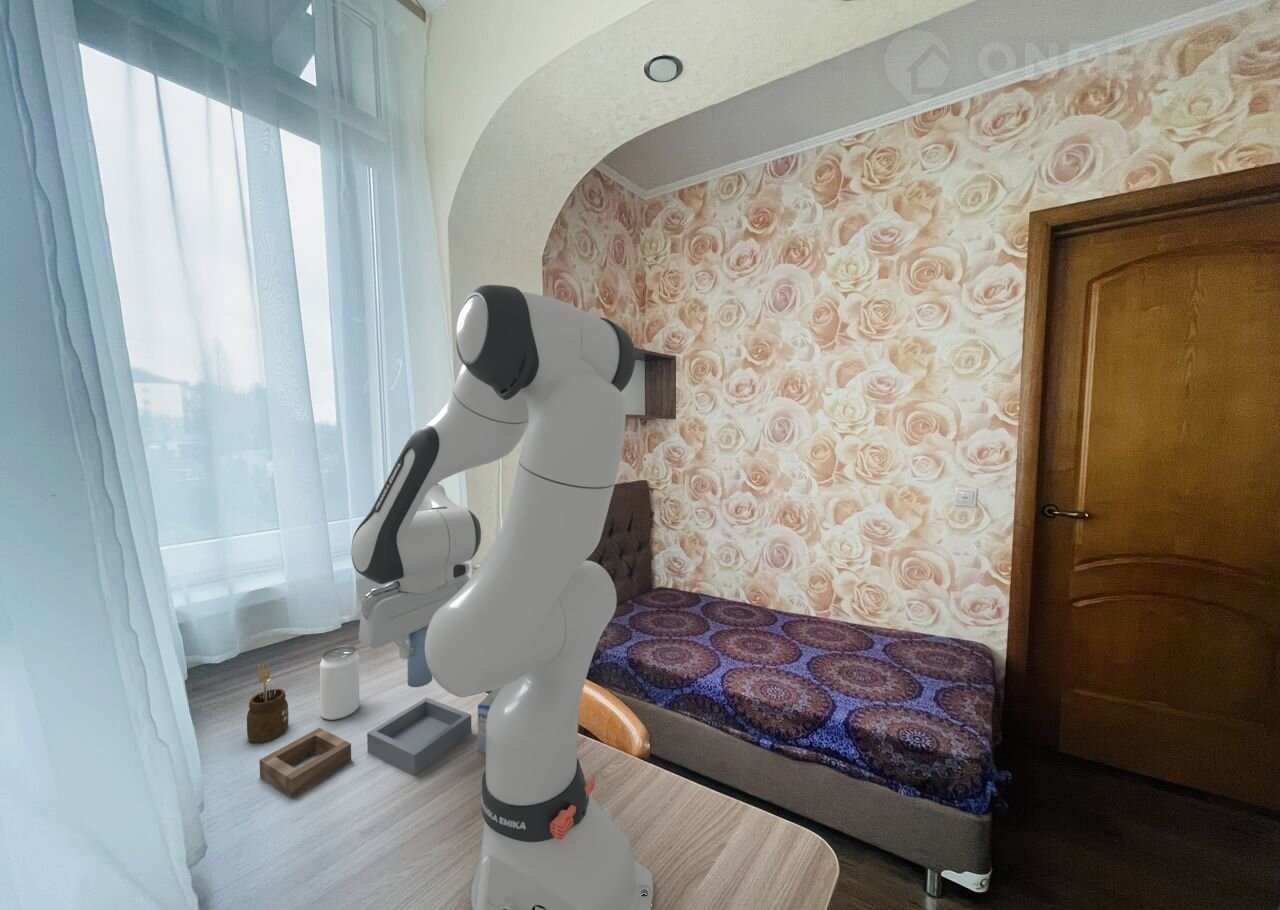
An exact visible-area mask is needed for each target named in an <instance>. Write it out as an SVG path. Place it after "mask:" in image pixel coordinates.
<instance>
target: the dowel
mask: <svg viewBox="0 0 1280 910" xmlns="http://www.w3.org/2000/svg"><path fill="white" fill-rule="evenodd" d="M427 629H428V626H426V627H424V628H422V629H419V630H417V631H415V632H413V633H410V634H408V640H407V642H406V643H407V645H410V646H413V647H414V651H413V652H414V655H413V656H412V657H410V658H408V659H407V686H408V687H410V688H420V687H424V686H427V685H428V684H430V683H432V680H433V676H432V674H431V672H430V670H429V668H428V665H427V662H426V657H425V638H426V633H427Z"/></svg>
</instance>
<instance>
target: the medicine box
mask: <svg viewBox="0 0 1280 910" xmlns="http://www.w3.org/2000/svg"><path fill="white" fill-rule="evenodd" d="M502 688H503V687H500V688H497V689H494V690H490V691H489V693H488V694H487V696H485V698H484V699H483V700H482V701H481V702H480V703H478V705H477V752H478V753H482V752H484V753H483V754H486V719H487V715H488V712H489V709H490V706H491V704H492V703H493V701H494V699H495V697H496V696H497V694H498V693H499V692H500V690H501V689H502Z"/></svg>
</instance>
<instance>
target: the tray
mask: <svg viewBox="0 0 1280 910" xmlns="http://www.w3.org/2000/svg"><path fill="white" fill-rule="evenodd" d="M470 734H472V714H470V713H468V712H466V711H463V710H460V709H457V708H455V707H452V706H449V705H447V704H445V703H442V702H440V701H437V700H434V699H432V698H429V697H427V696H426V697H424V698H423V699H422V700H419V701H418V702H416V703H414V704H413V705H411V706H410V707H408V708H406V709H405V710H403V711H402V712H399V713H398V714H396V715H395V716H393V717H391V718H389V719H387V720H386V721H385V722H383V723H381V724H380V725H378V726H377V727H375V728H373V729H371V730H369V731H367V733H366V736H367V737H366V738H367V739H366V741H367V742H366V743H367V745H366V746H367V750H366V751H367V754H370V755H372V756H374V757H375V758H378V759H379V760H382V761H384V762H385V763H388V764H390V765H392V766H394V767H396V768H398V769H400V770H402V771H404V772H406V773H407V774H410V775H412V776H414V777H415V776H416V775H418V774H419V773H421V772H422V771H423V770H424V769H426V768H427V767H429V766H430V765H431V764H433V763H434V762H435V761H437V760H438V759H439V758H440V757H442V756H443V755H444V754H445V753H447V752H448V751H450V750H451V749H452V748H454V747H455V746H456V745H458V744H459V743H460V742H462V741H463V740H464V739H465V738H467V737H468V736H470Z"/></svg>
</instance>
